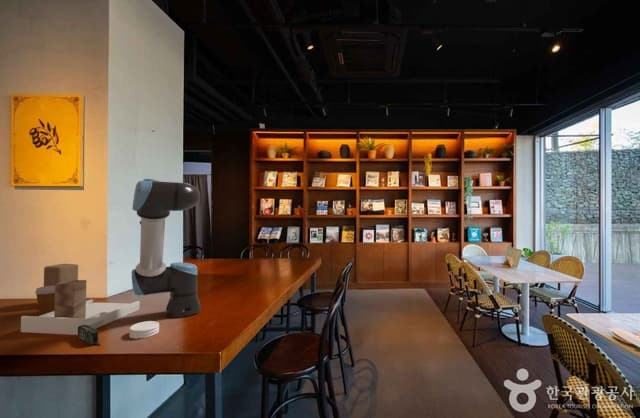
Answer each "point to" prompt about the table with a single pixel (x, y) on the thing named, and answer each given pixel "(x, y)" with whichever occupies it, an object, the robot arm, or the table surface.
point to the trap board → (94, 318)
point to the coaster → (144, 329)
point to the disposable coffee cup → (46, 299)
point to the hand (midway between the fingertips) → (149, 252)
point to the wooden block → (60, 273)
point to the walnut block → (70, 299)
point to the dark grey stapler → (88, 334)
